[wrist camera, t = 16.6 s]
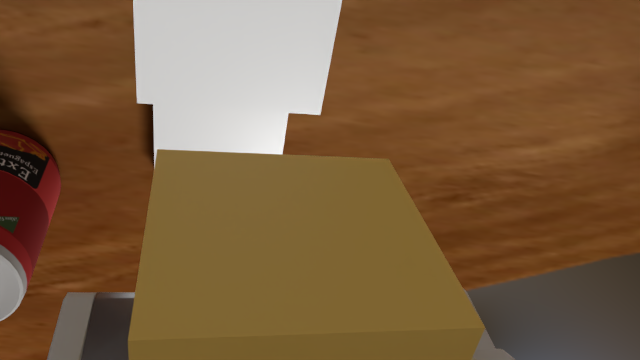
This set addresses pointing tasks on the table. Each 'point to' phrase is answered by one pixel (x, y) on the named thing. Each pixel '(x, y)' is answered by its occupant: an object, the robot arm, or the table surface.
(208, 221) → the block
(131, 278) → the table surface
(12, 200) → the canned food
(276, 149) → the tunnel deck
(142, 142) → the table surface
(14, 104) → the table surface
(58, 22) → the table surface
